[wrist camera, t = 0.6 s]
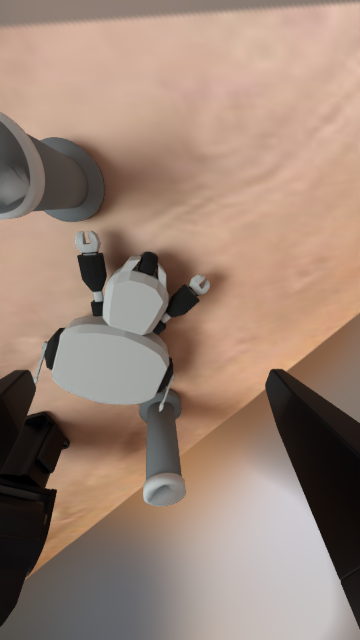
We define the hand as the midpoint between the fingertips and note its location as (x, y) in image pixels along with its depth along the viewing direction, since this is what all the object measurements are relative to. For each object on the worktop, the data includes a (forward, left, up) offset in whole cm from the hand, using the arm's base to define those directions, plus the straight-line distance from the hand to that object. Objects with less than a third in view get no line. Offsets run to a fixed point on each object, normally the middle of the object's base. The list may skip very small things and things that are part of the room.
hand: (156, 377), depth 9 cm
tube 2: (-4, -16, -14) cm, 21 cm away
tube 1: (-4, +8, -14) cm, 16 cm away
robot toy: (-4, -4, -14) cm, 15 cm away
